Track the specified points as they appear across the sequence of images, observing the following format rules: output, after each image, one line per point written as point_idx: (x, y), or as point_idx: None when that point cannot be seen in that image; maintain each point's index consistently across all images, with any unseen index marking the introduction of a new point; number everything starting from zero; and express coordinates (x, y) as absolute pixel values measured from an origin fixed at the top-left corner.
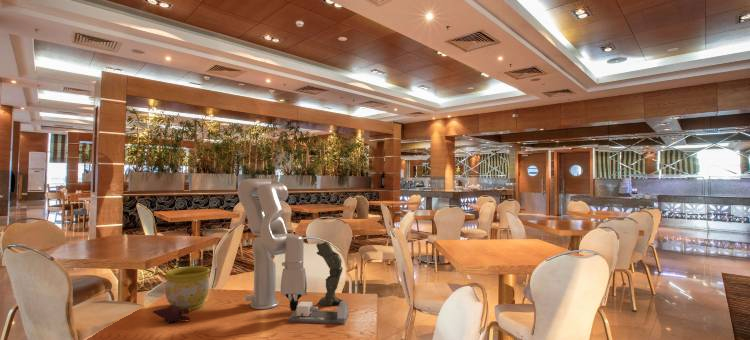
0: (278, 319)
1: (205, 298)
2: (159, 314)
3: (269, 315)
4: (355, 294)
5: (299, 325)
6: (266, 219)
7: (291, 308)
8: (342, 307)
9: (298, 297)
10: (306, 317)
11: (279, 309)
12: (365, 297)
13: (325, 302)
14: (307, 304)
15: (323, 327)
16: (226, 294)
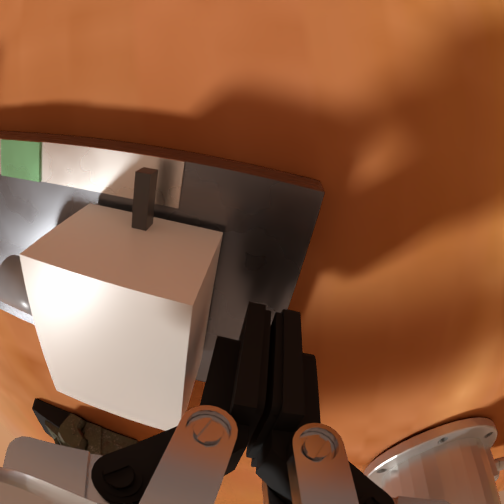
0: (411, 261)
1: None
2: None
3: (456, 346)
4: None
5: (182, 64)
6: None
7: (291, 326)
8: None
9: (151, 458)
10: (108, 184)
11: (372, 427)
12: (12, 427)
13: (98, 438)
14: (64, 335)
15: (2, 51)
16: (495, 482)
